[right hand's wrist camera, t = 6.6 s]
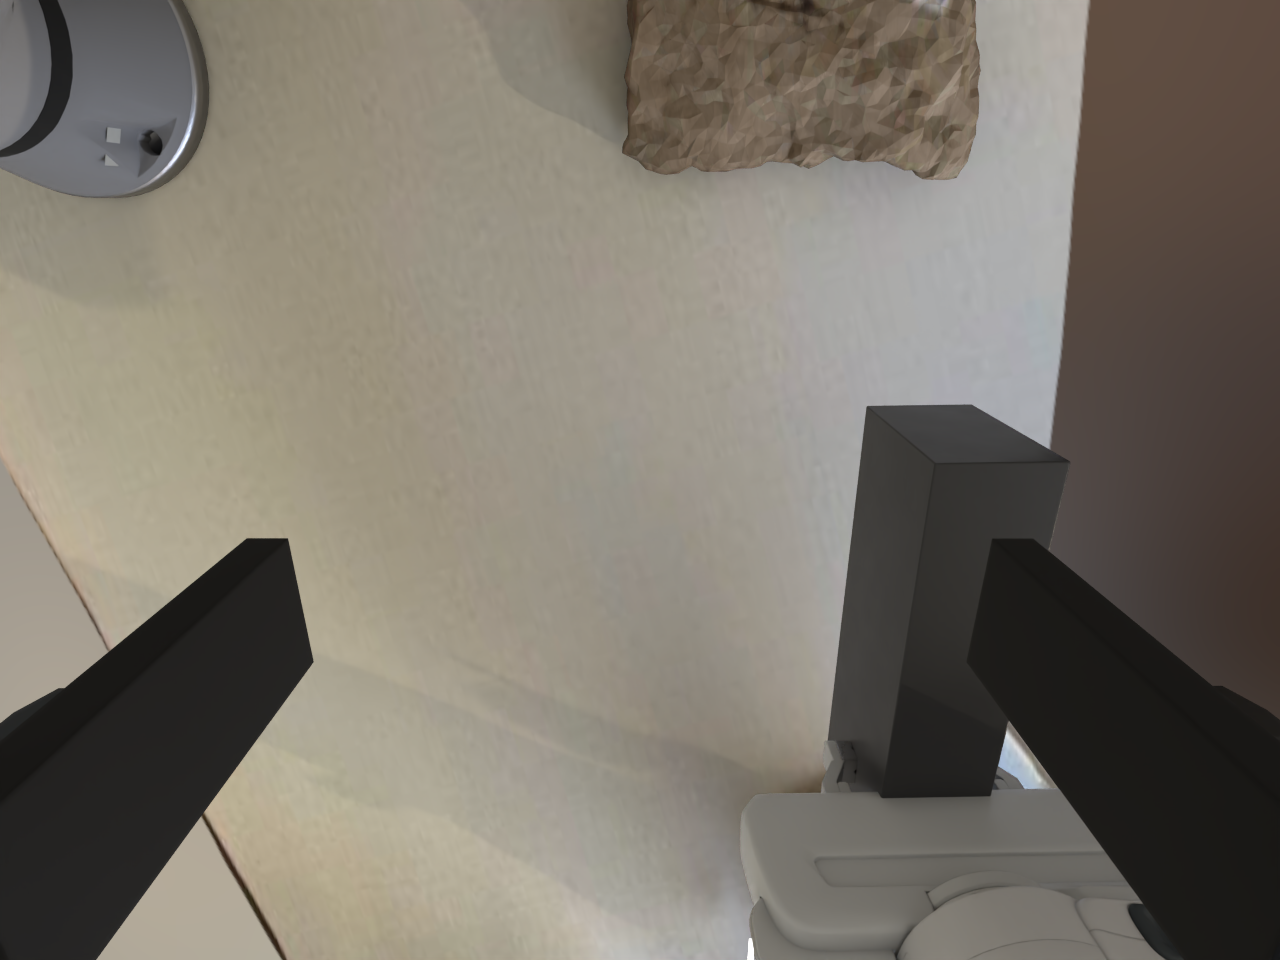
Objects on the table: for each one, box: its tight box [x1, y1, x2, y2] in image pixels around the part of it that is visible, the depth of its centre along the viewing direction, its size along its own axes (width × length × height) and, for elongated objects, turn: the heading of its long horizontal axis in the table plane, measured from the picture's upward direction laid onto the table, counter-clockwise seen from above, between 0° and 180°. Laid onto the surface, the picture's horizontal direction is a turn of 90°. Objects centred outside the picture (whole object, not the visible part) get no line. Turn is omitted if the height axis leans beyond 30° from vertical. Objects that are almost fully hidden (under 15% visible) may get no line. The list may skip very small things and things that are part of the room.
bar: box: [828, 405, 1070, 798], centre depth 37 cm, size 24×6×9 cm, turn 1°
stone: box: [622, 0, 981, 180], centre depth 39 cm, size 21×15×6 cm
